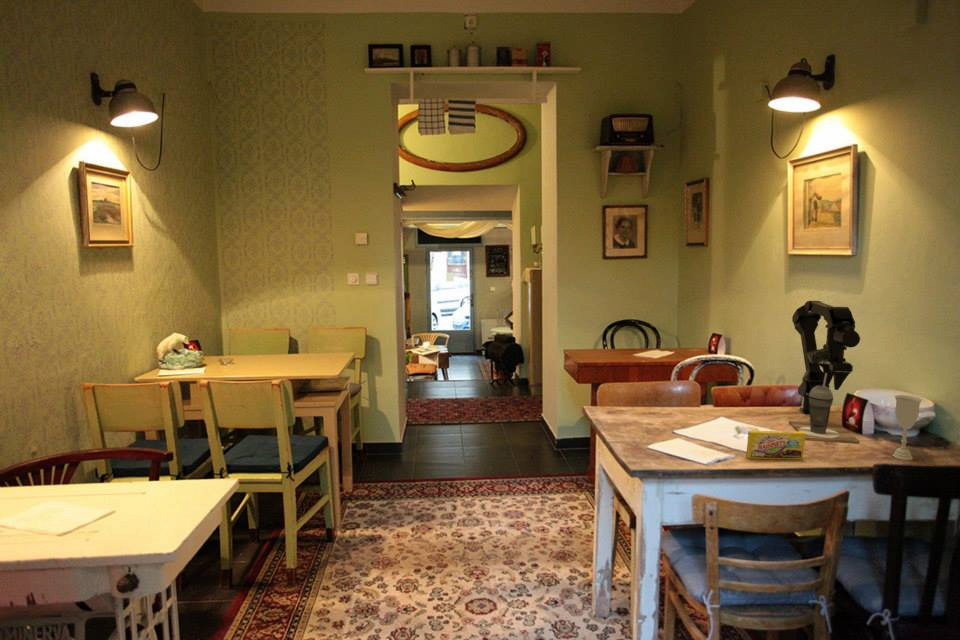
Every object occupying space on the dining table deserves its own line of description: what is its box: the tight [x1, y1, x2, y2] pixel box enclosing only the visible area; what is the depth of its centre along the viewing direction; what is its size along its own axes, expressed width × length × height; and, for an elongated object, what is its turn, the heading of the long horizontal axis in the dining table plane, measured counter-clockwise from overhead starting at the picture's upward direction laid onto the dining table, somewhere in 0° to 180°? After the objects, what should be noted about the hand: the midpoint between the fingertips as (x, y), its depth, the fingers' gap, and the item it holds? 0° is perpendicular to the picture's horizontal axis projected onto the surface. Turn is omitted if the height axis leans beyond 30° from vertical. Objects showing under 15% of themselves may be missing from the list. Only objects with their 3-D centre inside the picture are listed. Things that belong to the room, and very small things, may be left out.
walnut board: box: [788, 420, 860, 444], centre depth 218 cm, size 20×16×1 cm
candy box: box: [745, 430, 806, 460], centre depth 191 cm, size 16×2×8 cm, turn 90°
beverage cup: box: [809, 373, 834, 434], centre depth 214 cm, size 7×7×20 cm
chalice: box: [892, 394, 923, 461], centre depth 193 cm, size 7×7×18 cm
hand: (831, 386), depth 227 cm, fingers open, 9 cm apart
